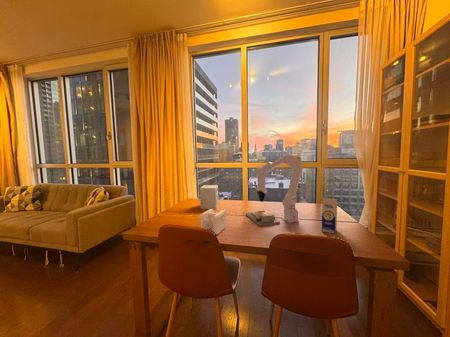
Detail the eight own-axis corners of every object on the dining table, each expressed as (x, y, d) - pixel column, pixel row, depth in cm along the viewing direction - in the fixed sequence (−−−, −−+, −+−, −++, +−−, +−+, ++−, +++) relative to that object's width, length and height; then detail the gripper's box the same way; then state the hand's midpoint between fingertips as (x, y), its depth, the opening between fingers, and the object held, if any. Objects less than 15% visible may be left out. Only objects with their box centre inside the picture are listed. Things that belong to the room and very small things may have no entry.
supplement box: (219, 204, 185) (218, 185, 183) (216, 209, 172) (215, 187, 170) (204, 204, 187) (203, 185, 185) (200, 208, 174) (199, 187, 172)
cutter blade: (270, 219, 138) (270, 214, 138) (263, 220, 137) (263, 215, 137) (264, 215, 147) (264, 210, 147) (257, 216, 146) (257, 211, 145)
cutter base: (279, 223, 135) (279, 215, 135) (259, 226, 132) (259, 218, 131) (263, 213, 158) (263, 205, 158) (246, 215, 155) (245, 207, 154)
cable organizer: (212, 225, 137) (211, 207, 136) (227, 227, 133) (227, 209, 131) (200, 234, 123) (200, 214, 122) (217, 236, 119) (216, 216, 118)
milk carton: (321, 231, 122) (321, 197, 120) (323, 227, 127) (324, 195, 125) (335, 234, 118) (336, 198, 116) (336, 230, 123) (337, 196, 121)
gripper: (252, 182, 161) (252, 199, 162) (260, 185, 147) (260, 204, 148) (261, 181, 163) (261, 198, 164) (269, 184, 149) (269, 203, 150)
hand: (261, 201), depth 156 cm, fingers closed
